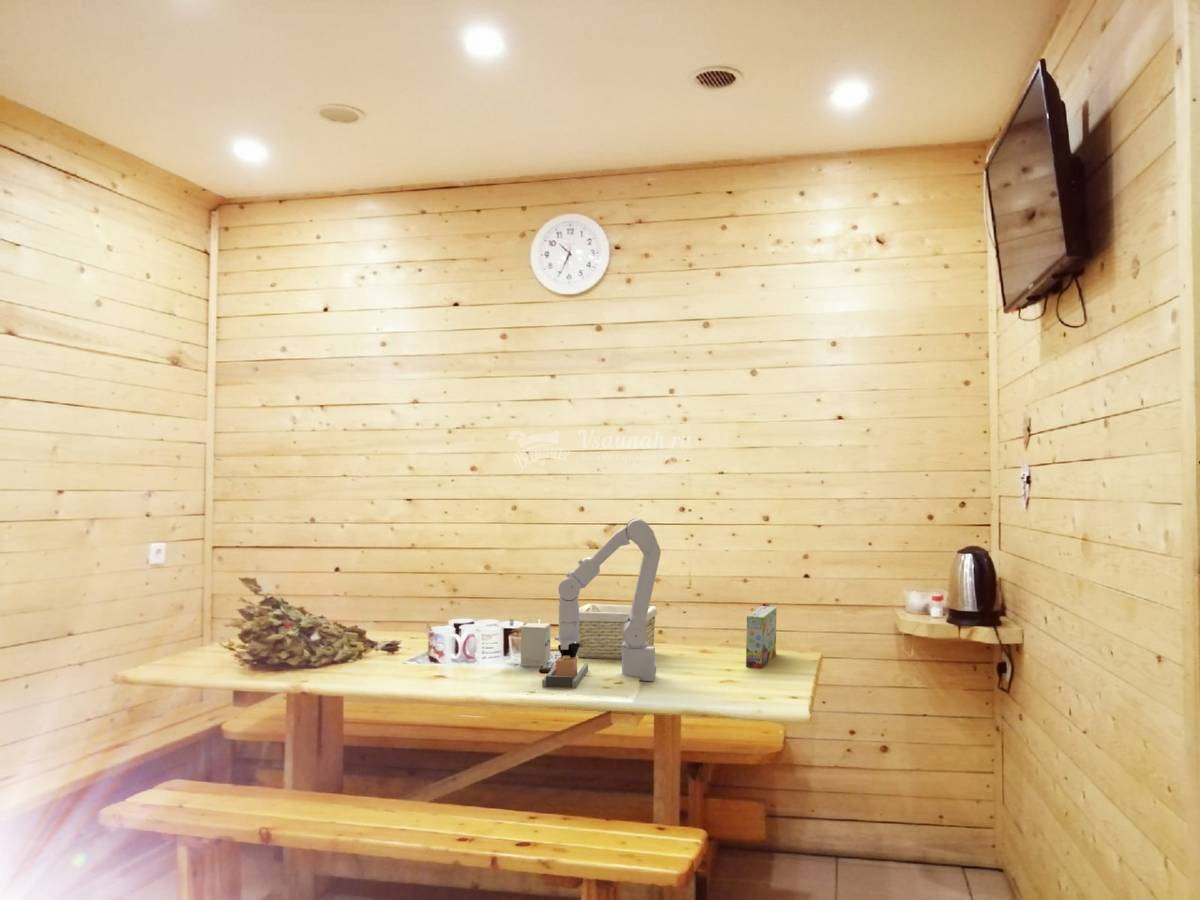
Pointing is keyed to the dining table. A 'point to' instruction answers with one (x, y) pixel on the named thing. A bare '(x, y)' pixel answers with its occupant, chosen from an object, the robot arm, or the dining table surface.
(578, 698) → the dining table surface
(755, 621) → the snack box
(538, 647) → the supplement box
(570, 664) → the block
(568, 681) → the grey tray
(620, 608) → the storage basket
